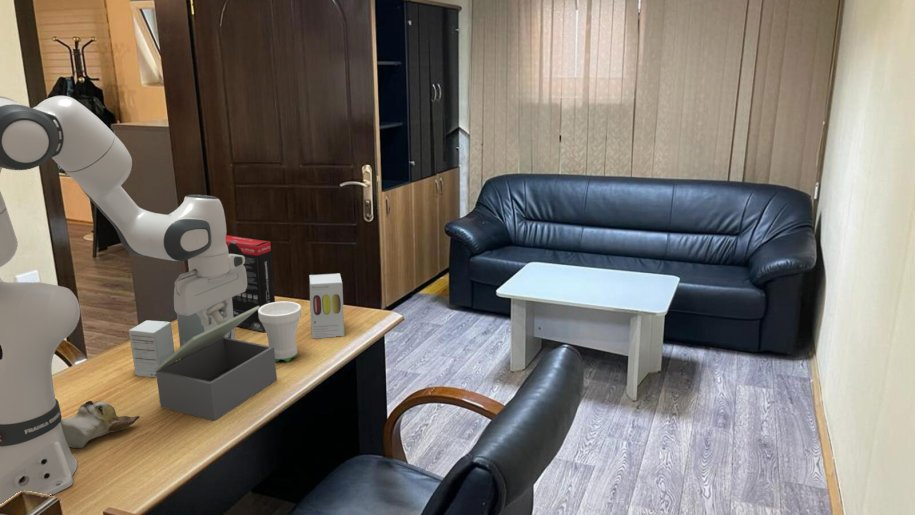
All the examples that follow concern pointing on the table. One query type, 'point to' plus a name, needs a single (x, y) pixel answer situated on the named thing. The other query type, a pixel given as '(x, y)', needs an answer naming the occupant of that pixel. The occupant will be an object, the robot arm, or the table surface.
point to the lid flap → (208, 333)
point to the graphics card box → (253, 278)
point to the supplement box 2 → (326, 305)
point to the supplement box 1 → (151, 346)
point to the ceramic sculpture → (93, 423)
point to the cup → (281, 327)
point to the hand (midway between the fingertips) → (214, 321)
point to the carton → (216, 378)
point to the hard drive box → (199, 326)
